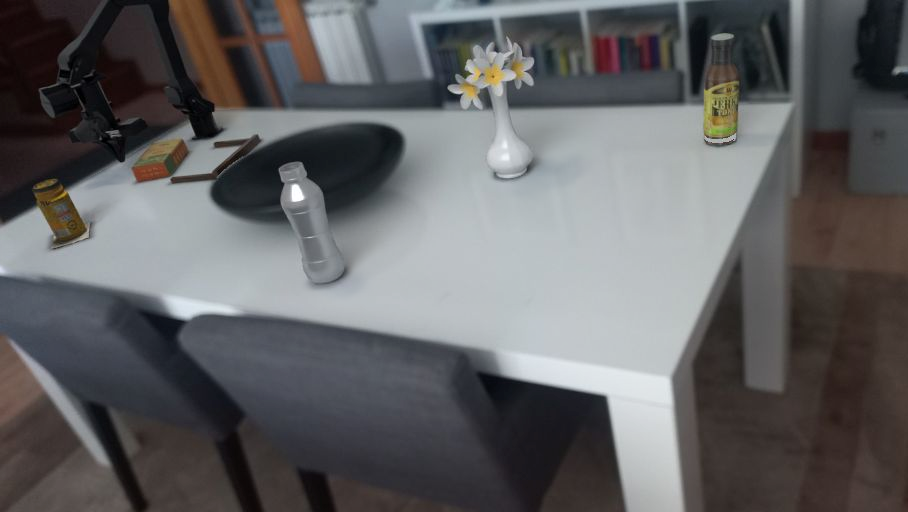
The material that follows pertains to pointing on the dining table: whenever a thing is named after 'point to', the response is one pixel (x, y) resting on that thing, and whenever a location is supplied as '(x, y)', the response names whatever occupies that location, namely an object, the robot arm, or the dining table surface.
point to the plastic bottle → (310, 224)
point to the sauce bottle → (721, 91)
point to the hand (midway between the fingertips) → (122, 162)
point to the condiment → (60, 213)
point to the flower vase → (498, 104)
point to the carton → (159, 160)
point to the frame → (241, 151)
